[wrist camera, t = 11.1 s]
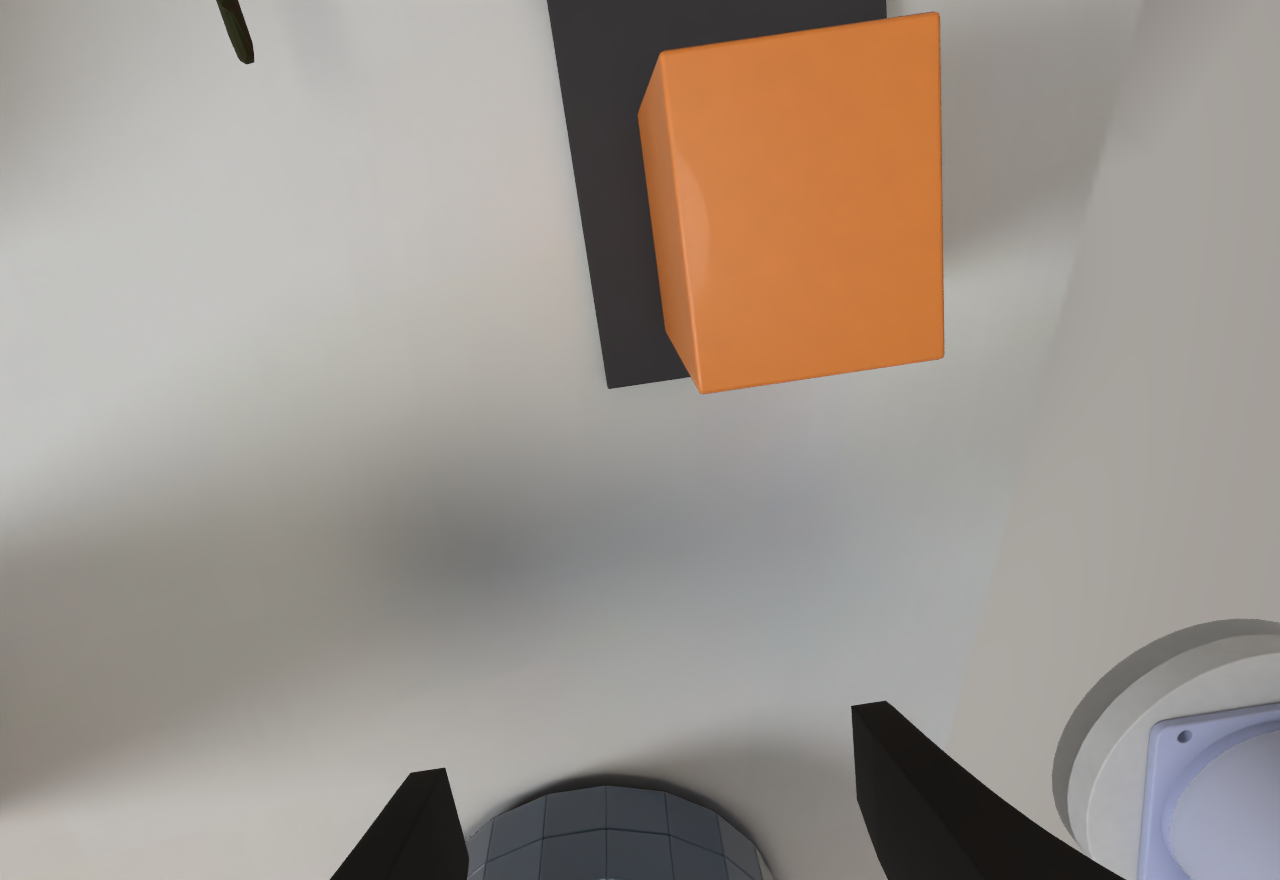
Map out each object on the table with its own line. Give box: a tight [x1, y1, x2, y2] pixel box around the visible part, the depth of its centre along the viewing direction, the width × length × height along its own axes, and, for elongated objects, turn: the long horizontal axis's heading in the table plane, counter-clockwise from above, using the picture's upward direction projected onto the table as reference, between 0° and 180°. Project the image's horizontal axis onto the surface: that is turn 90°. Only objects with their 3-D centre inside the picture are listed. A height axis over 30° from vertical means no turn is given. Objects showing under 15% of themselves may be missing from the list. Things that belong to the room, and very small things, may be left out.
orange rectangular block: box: [638, 12, 944, 394], centre depth 15 cm, size 4×6×7 cm
